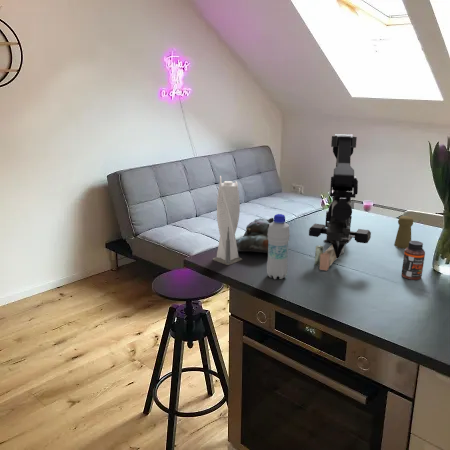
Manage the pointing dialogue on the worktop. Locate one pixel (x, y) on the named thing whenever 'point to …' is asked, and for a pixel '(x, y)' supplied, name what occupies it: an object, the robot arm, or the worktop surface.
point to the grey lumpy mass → (255, 236)
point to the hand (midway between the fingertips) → (337, 258)
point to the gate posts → (318, 252)
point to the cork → (404, 232)
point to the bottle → (278, 247)
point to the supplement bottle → (413, 261)
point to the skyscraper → (227, 222)
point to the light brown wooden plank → (327, 258)
